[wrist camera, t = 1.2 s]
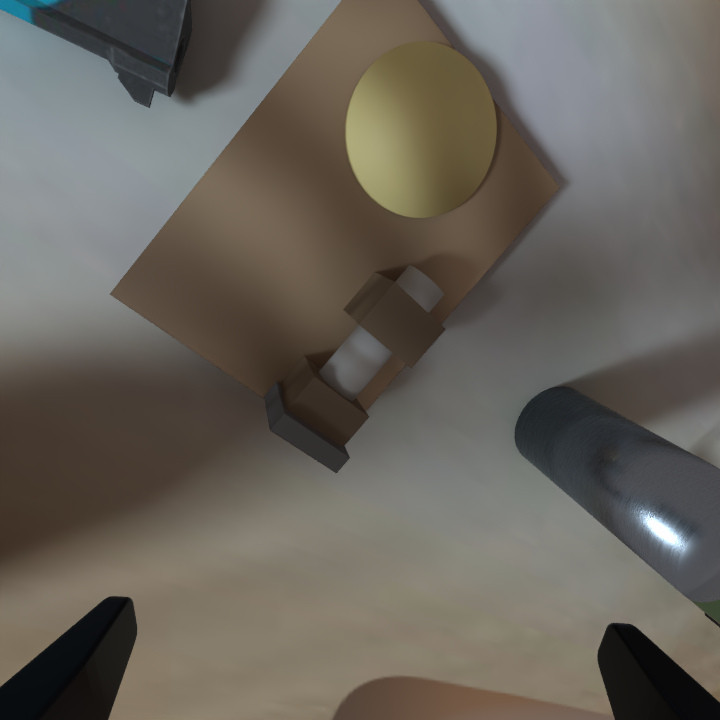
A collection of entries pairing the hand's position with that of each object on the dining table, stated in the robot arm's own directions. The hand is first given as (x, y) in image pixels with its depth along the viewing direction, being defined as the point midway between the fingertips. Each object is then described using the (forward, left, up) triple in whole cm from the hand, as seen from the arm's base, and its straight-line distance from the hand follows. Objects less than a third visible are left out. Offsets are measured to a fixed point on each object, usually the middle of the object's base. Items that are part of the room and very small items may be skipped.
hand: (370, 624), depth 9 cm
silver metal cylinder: (+6, -13, -13) cm, 20 cm away
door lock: (+6, +2, -13) cm, 15 cm away
